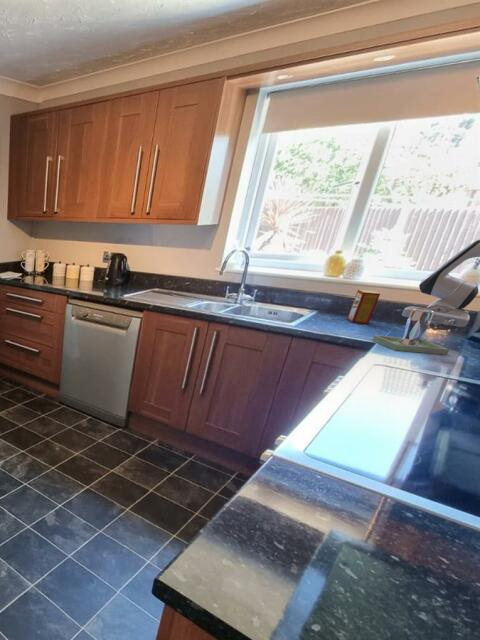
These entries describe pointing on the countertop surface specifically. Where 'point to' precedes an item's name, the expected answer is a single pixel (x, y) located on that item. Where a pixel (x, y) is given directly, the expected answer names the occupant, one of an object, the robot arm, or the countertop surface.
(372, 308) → the baking soda box
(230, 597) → the countertop surface
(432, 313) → the beer glass
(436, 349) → the tray
